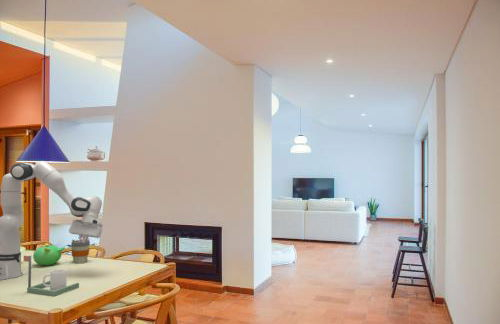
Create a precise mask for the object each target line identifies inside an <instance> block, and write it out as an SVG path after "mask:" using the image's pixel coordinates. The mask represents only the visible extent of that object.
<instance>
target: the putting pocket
mask: <svg viewBox="0 0 500 324" xmlns="http://www.w3.org/2000/svg"><path fill="white" fill-rule="evenodd" d="M23 262H25V263H26V262H27V263H28V274H27V275H28V277H27V278H28V279H27V281H28V282H27V287H26V292H27V293H29V294H35V295H42V296H47V297H49V296H50V297H57V296H59V295H62V294H64V293H65V294H66V293H68V292H70V291H73V290H76V289H78V288H79V287H80V283H79V282H75V283H73V284H69V285H66V287H63V288H60V289H57V290H50V289H47V288H46V287H45V286H44V285H43V282H41V283H38V284H35V285H31V284H32V255H23ZM45 284H46V285H50V280H48V281H45Z"/></svg>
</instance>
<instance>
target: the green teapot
mask: <svg viewBox="0 0 500 324" xmlns="http://www.w3.org/2000/svg"><path fill="white" fill-rule="evenodd" d="M66 249H67V247H66V246H64V247H58V246H57V245H54V244H49V243H47V242H46V243H44V245H41V246H39V247H38V248H37V249H35V251H33V256H32V260H34V262H35V263H36V264H37V265H40V266H51V265H54V264H56V263H57V262H59V260H60V259H61V257H62V252H63V251H64V250H66Z"/></svg>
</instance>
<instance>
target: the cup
mask: <svg viewBox="0 0 500 324" xmlns="http://www.w3.org/2000/svg"><path fill="white" fill-rule="evenodd" d="M67 274H68V271H67V269H64V268H63V269H61V268H60V269H53V270H51V271H50V272H49V273H46V274H44V275H43V278H42V283H43V285H44V286H45V288H49V290H57V289H60V288H63V287H66V286H67V280H68V279H67V277H68V275H67ZM46 277H49V281H50V285H46V284H45V282H46Z"/></svg>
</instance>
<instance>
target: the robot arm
mask: <svg viewBox="0 0 500 324" xmlns="http://www.w3.org/2000/svg"><path fill="white" fill-rule="evenodd" d="M36 178H37V179H38V180H39V181H40V182H41V183H42V184H43V185H44V186H46V187H47V188H48V189H50V190H51V191H52V192H53V193H54V194H56V195H57V196H58V197H59V198H60V199H62V201H63V202H64V203H65V204H66V205H67V206H68V208H69V211H70V213H71V215H73V216H74V217H78V218H80V217H81V219H74V220H73V221H72V223H71V225H70V227H69V229H68V232H69V234H71V235H77V236H78V238H79V242H80V243H84V242H85V240H88V238H96V239H100V237H101V236H102V232H103V226H104V224H103V223H102V222H101V221H99V220H98V216H99V214H100V212H101V209H102V207H103V201H102V199H101V198H100V197H97V196H96V195H91V196H88V197H85V196H84V197H81V196H77V197H75V196H74V194H72V193H71V192H70V191H69V190H68V188H67V186H66V184H65V183H66V182H65V180H64V177H63V176H62V175H61V174H60V172H59V171H58V169H56V168H55V167H54V166H52V165H51V164H49V163H48V162H47V161H44V160H41V161H38V162H36V163H33V162H17V163H15V164H14V165H12V166H11V167H10V173H6V174H5V175H3V177H2V180H1V185H0V206H1V209H2V216H0V280H3V281H4V280H9V279H13V278H17V277H21V276H23V274H24V273H23V271H22V264H21V261H22V252H21V238H20V232H19V231H20V230H19V228H21V227H22V225H23V223H24V213H23V208H22V207H23V206H22V184H23V182H26V181H27V182H28V181H30V180H34V179H36ZM83 237H84V238H83ZM82 238H83V239H82Z"/></svg>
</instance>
